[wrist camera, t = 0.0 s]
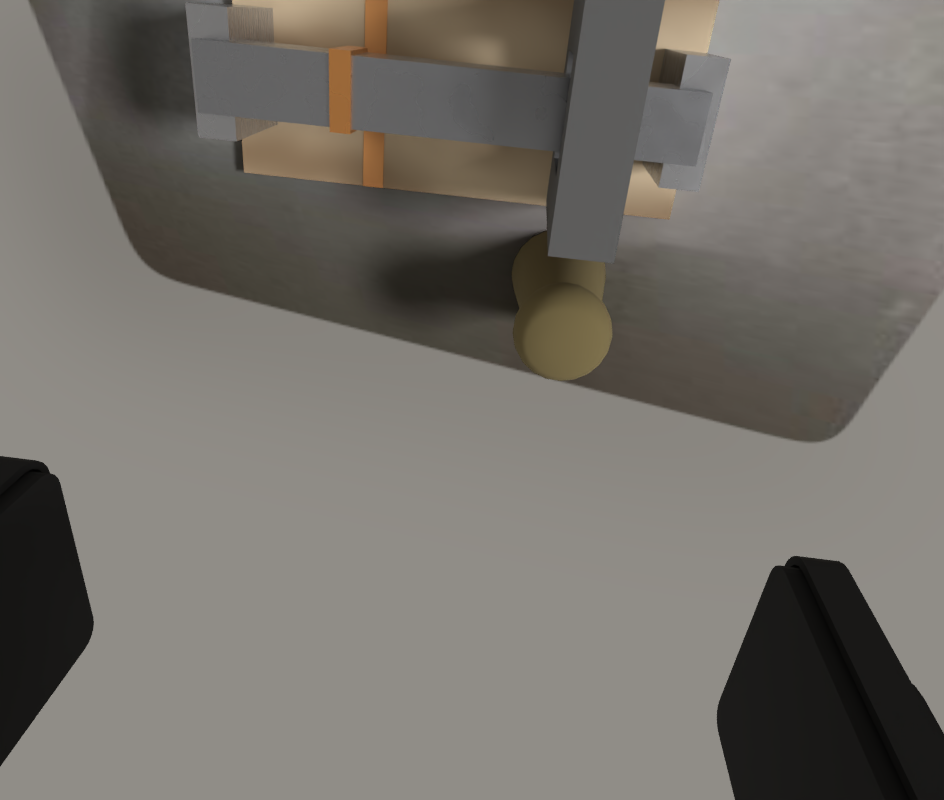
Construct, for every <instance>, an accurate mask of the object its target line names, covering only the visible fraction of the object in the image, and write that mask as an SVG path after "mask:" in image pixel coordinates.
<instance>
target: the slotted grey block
mask: <svg viewBox="0 0 944 800" xmlns="http://www.w3.org/2000/svg"><path fill="white" fill-rule="evenodd" d="M664 4H665V0H574V4H573V11H572V19H571V26H570V33H569V40H568V47H567V54H566V62H565V69H564V73H570V74H571V77H570V84H569V91H568V98H567V105H566V112H565V119H564V126H563V133H562V140H561V147H560V152H555V151H553V155H552V162H551V169H550V176H549V184H548V191H547V198H546V210H547V245H548V256H552V257H560V258H569V259H578V260H587V261H596V262H605V263H613V264H614V260H615V255H616V250H617V245H618V240H619V235H620V229H621V224H622V219H623V214H624V209H625V204H626V199H627V194H628V188H629V183H630V178H631V173H632V168H633V163H634V158H635V152H636V147H637V142H638V137H639V132H640V127H641V122H642V117H643V111H644V106H645V101H646V96H647V91H648V86H649V81H650V75H651V70H652V65H653V60H654V55H655V50H656V45H657V40H658V34H659V29H660V24H661V19H662V14H663V9H664Z"/></svg>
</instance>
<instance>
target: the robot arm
mask: <svg viewBox="0 0 944 800" xmlns="http://www.w3.org/2000/svg"><path fill="white" fill-rule="evenodd" d="M93 625H94V621H93V615H92V611H91V607H90V603H89V599H88V594H87V590H86V587H85V582H84V578H83V574H82V570H81V566H80V562H79V558H78V554H77V550H76V546H75V542H74V538H73V533H72V529H71V525H70V521H69V517H68V514H67V509H66V505H65V501H64V497H63V493H62V489H61V485H60V482H59V479H58V478H57V477H56V476H55V475H53V474H50V472H49V470H48V467H47V466H46V465H45V464H44V463H42V462H39V461H35V460H27V459H19V458H11V457H3V456H0V766H1V765H2V763H3V762H4V760H5V759H6V758H7V756H8V755H9V753H10V752H11V750H12V749H13V748H14V747H15V745H16V744H17V742H18V741H19V740H20V738H21V736H22V735H23V734H24V733H25V731H26V730H27V728H28V727H29V726H30V724H31V723H32V721H33V720H34V719H35V717H36V716H37V715H38V713H39V712H40V710H41V709H42V708H43V706H44V705H45V703H46V702H47V701H48V699H49V698H50V696H51V695H52V694H53V692H54V691H55V690H56V688H57V687H58V685H59V684H60V683H61V681H62V680H63V678H64V677H65V676H66V674H67V673H68V671H69V670H70V669H71V667H72V666H73V665H74V663H75V662H76V660H77V659H78V658H79V656H80V655H81V653H82V652H83V651H84V649H85V648H86V646H87V644H88V643H89V640H90V638H91V635H92V631H93ZM717 726H718V732H719V736H720V741H721V745H722V749H723V753H724V757H725V761H726V765H727V769H728V773H729V777H730V781H731V785H732V789H733V793H734V797H735V800H944V734H943V732H942V730H941V728H940V726H939V724H938V723H937V721H936V719H935V717H934V715H933V714H932V712H931V710H930V708H929V707H928V705H927V703H926V701H925V699H924V698H923V696H922V695H921V694H920V692H919V691H918V690H917V688H916V687H915V686H914V685H913V684H912V683H911V681H910V680H909V678H908V676H907V674H906V673H905V671H904V669H903V667H902V665H901V663H900V662H899V660H898V658H897V656H896V654H895V653H894V651H893V649H892V647H891V645H890V644H889V642H888V640H887V638H886V636H885V635H884V633H883V631H882V629H881V627H880V626H879V624H878V622H877V620H876V618H875V617H874V615H873V613H872V611H871V609H870V608H869V606H868V604H867V602H866V600H865V599H864V597H863V595H862V593H861V592H860V589H859V588H858V586H857V585H856V582H855V580H854V579H853V577H852V575H851V573H850V572H849V570H848V569H847V567H846V566H845V565H844V564H843V563H840V562H839V561H831V560H823V559H815V558H808V557H800V556H794V557H791V558H790V559H789V560H788V561H787V563H786V564H785V566H775V567H774V568H773V569H772V571H771V573H770V575H769V577H768V580H767V582H766V585H765V588H764V590H763V592H762V595H761V598H760V600H759V602H758V605H757V608H756V610H755V612H754V615H753V618H752V620H751V623H750V625H749V628H748V630H747V633H746V635H745V638H744V640H743V643H742V645H741V648H740V651H739V653H738V655H737V658H736V660H735V663H734V666H733V668H732V670H731V673H730V675H729V678H728V680H727V683H726V685H725V688H724V691H723V693H722V696H721V698H720V701H719V704H718V710H717Z"/></svg>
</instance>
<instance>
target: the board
mask: <svg viewBox="0 0 944 800" xmlns="http://www.w3.org/2000/svg"><path fill="white" fill-rule="evenodd" d="M232 4H237V5H247V6H256V7H266V8H273V24H274V43H283V44H293V45H302V46H312V47H322V48H335V47H342V46H357V47H367V48H368V52H369V53H379V54H388V55H398V56H408V57H417V58H427V59H436V60H446V61H455V62H465V63H474V64H484V65H494V66H503V67H513V68H522V69H532V70H541V71H551V72H560V73H564V69H565V62H566V54H567V47H568V40H569V33H570V26H571V19H572V11H573V4H574V0H232ZM718 4H719V0H665V4H664V9H663V14H662V19H661V24H660V29H659V34H658V40H657V45H656V50H655V55H654V60H653V65H652V70H651V75H650V81H649V82H656V83H659V78H660V73H661V68H662V63H663V58H664V53H665V49H674V50H683V51H693V52H703V53H707V52H708V48H709V43H710V39H711V35H712V30H713V26H714V21H715V17H716V13H717V8H718ZM242 149H243V164H244V172H245V173H254V174H263V175H272V176H281V177H290V178H299V179H308V180H317V181H326V182H335V183H344V184H353V185H362V186H368V187H377V188H389V189H398V190H407V191H416V192H425V193H434V194H443V195H452V196H461V197H470V198H479V199H488V200H497V201H506V202H515V203H524V204H533V205H543V206H546V198H547V191H548V184H549V176H550V169H551V162H552V155H553V151H546V150H537V149H527V148H518V147H509V146H500V145H491V144H481V143H472V142H463V141H454V140H444V139H435V138H426V137H417V136H407V135H398V134H389V133H380V132H371V131H361V130H356V131H355V132H353V133H352V134H342V133H333V132H330V127H324V126H315V125H306V124H297V123H287V122H278V125H275V126H273V127H270V128H268V129H265V130H263V131H261V132H258V133H256V134H253V135H251V136H249V137H246V138H244V139H242ZM642 163H643V161H638V160H634V163H633V168H632V173H631V178H630V183H629V188H628V194H627V199H626V204H625V209H624V215H633V216H642V217H651V218H660V219H670V215H671V210H672V206H673V201H674V197H675V193H676V189H667V188H658V186H657V185H656V183H655V182H654V180H653V179H652V177H651V176H650V174H649V173H648V172H647V170H646V169H645V167H644V166H643V164H642Z"/></svg>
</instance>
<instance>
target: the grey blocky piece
mask: <svg viewBox="0 0 944 800" xmlns="http://www.w3.org/2000/svg"><path fill="white" fill-rule="evenodd" d="M185 6H186V16H187V27H188V37H189V47H190V57H191V68H192V78H193V88H194V98H195V109H196V119H197V129H198V137H201V138H210V139H219V140H228V141H239V140H241V139H244V138H246V137H249V136H251V135H253V134H256V133H258V132H261V131H263V130H265V129H268V128H270V127H273V126H275V125H278V122H287V123H297V124H306V125H315V126H324V127H330V132H333V133H342V134H352V133H353V132H355V131H356V130H361V131H371V132H380V133H389V134H398V135H407V136H417V137H426V138H435V139H444V140H454V141H463V142H472V143H481V144H491V145H500V146H509V147H518V148H527V149H537V150H546V151H555V152H560V147H561V140H562V133H563V126H564V119H565V112H566V105H567V98H568V91H569V84H570V77H571V74H570V73H560V72H551V71H541V70H532V69H522V68H513V67H503V66H494V65H484V64H474V63H465V62H455V61H446V60H436V59H427V58H417V57H408V56H398V55H388V54H379V53H369V52H368V48H367V47H357V46H342V47H335V48H322V47H312V46H302V45H293V44H283V43H274V24H273V8H266V7H256V6H247V5H237V4H209V3H185ZM730 61H731V59H729V58H724V57H720V56H716V55H711V54H707V53H703V52H693V51H683V50H674V49H665V53H664V58H663V63H662V68H661V73H660V78H659V83H656V82H649V86H648V91H647V96H646V101H645V106H644V111H643V117H642V122H641V127H640V132H639V137H638V142H637V147H636V152H635V158H634V160H638V161H643V163H642V164H643V166H644V167H645V169H646V170H647V172H648V173H649V174H650V176H651V177H652V179H653V180H654V182H655V183H656V185H657V186H658V188H667V189H676V190H685V191H694V192H699V188H700V184H701V180H702V176H703V172H704V168H705V164H706V159H707V155H708V151H709V147H710V143H711V139H712V135H713V131H714V127H715V122H716V118H717V114H718V110H719V106H720V102H721V98H722V94H723V90H724V86H725V81H726V77H727V73H728V69H729V65H730Z"/></svg>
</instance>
